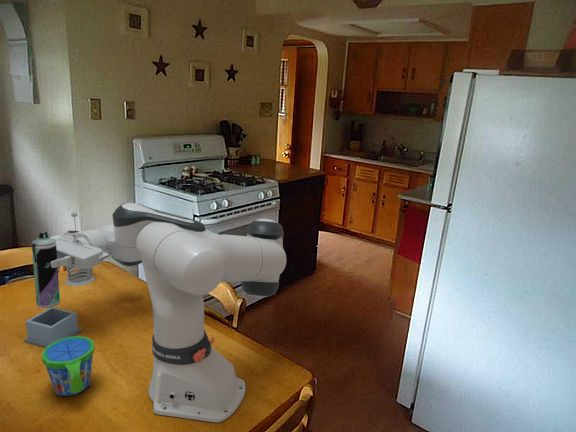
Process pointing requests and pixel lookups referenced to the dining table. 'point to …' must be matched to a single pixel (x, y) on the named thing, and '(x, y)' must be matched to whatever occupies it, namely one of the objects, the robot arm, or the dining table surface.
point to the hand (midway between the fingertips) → (41, 261)
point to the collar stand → (51, 327)
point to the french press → (78, 272)
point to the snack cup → (69, 364)
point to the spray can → (45, 271)
